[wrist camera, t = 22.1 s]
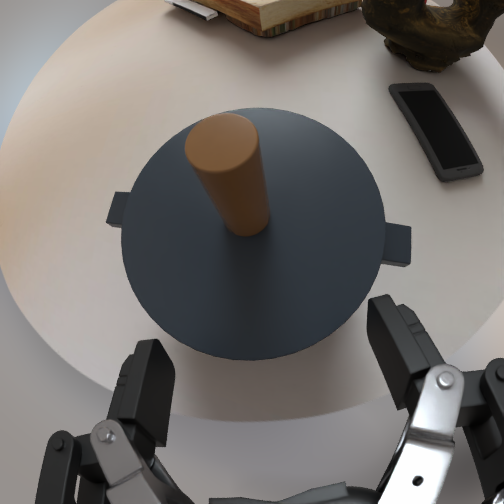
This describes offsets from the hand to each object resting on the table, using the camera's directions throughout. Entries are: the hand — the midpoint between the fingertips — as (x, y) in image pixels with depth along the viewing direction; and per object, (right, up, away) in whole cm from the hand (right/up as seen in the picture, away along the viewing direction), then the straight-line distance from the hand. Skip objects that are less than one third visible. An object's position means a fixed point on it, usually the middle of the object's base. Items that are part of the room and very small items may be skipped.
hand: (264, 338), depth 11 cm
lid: (-1, +5, +6) cm, 8 cm away
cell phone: (+21, +18, +17) cm, 32 cm away
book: (0, +48, +27) cm, 55 cm away
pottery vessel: (+25, +33, +20) cm, 46 cm away
